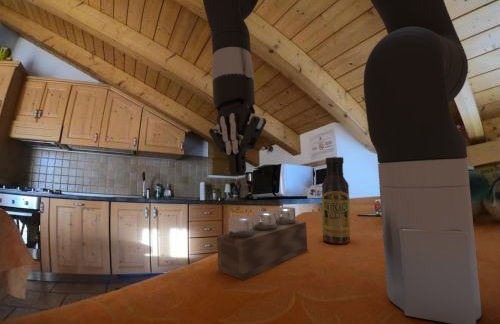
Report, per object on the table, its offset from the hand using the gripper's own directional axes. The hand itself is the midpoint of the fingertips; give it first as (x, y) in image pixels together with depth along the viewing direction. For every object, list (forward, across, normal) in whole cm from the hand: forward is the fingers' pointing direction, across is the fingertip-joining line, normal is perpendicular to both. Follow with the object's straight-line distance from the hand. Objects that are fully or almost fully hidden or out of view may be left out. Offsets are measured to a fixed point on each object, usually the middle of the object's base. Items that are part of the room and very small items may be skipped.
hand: (238, 175), depth 44 cm
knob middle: (+14, 0, +7) cm, 16 cm away
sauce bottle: (+17, +5, +26) cm, 32 cm away
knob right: (+14, 0, +14) cm, 20 cm away
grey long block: (+16, 0, +7) cm, 18 cm away
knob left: (+14, -1, +1) cm, 15 cm away
